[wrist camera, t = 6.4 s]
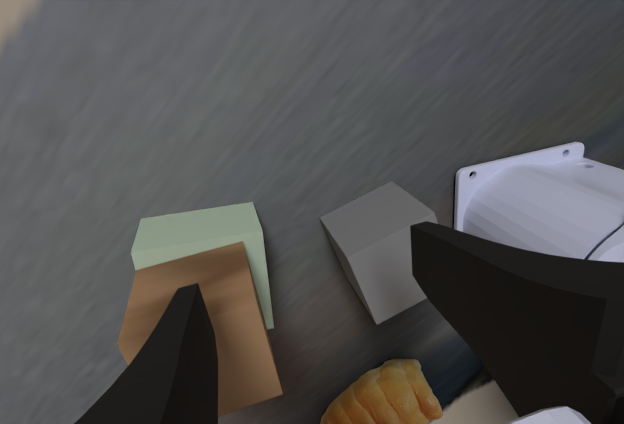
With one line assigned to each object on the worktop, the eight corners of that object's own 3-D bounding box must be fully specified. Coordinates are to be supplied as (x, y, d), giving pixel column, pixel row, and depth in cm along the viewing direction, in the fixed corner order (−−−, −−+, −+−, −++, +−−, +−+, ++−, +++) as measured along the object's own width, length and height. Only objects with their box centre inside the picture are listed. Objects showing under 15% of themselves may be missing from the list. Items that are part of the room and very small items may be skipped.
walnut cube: (242, 240, 19) (256, 302, 15) (264, 320, 21) (282, 394, 17) (136, 269, 18) (117, 344, 14) (170, 349, 20) (163, 435, 16)
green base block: (252, 200, 23) (262, 230, 19) (263, 287, 25) (274, 328, 22) (141, 217, 21) (130, 252, 18) (164, 306, 24) (159, 353, 20)
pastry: (338, 447, 33) (354, 493, 30) (302, 404, 30) (315, 449, 27) (432, 388, 34) (459, 427, 30) (405, 340, 31) (431, 377, 27)
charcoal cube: (391, 180, 24) (434, 212, 20) (411, 242, 27) (454, 283, 22) (319, 217, 24) (346, 257, 20) (346, 276, 26) (376, 324, 22)
